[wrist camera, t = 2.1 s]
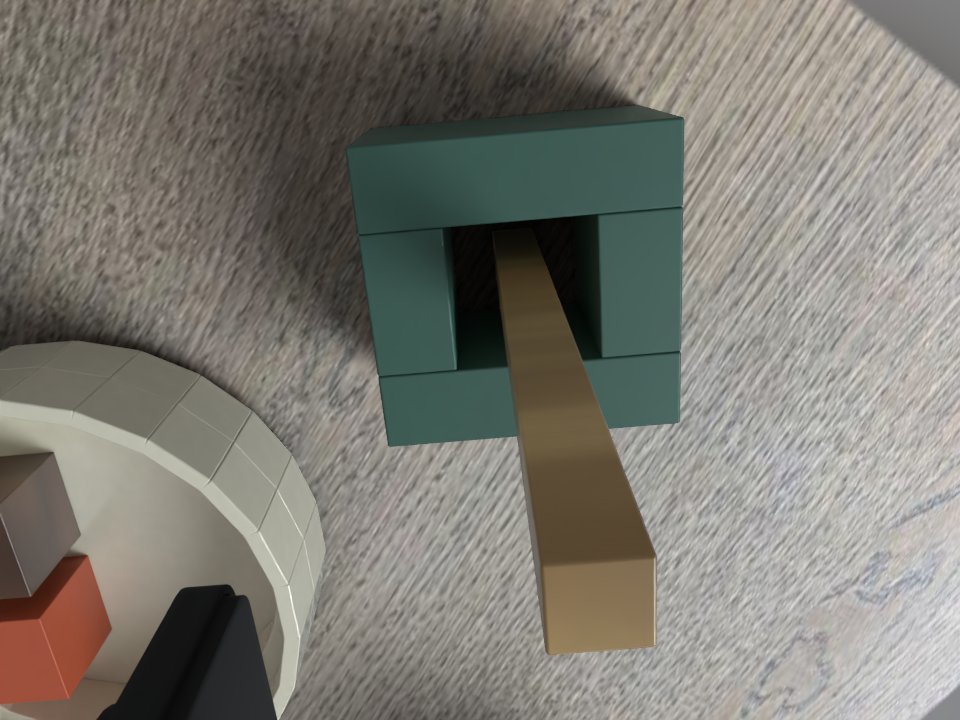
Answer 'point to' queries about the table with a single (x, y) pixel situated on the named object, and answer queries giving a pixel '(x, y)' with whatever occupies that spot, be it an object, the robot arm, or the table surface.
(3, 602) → the block
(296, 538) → the bowl
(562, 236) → the table surface
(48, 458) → the block
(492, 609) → the table surface
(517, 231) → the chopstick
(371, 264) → the holder
